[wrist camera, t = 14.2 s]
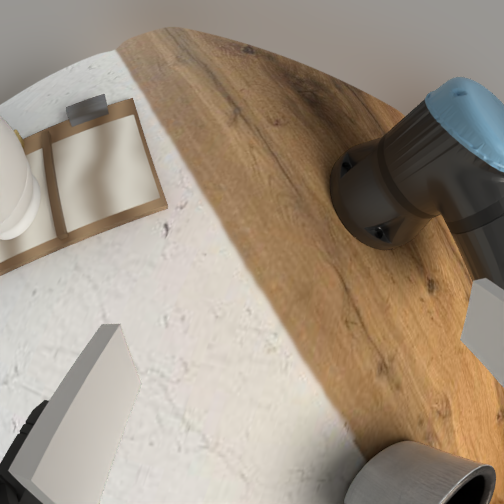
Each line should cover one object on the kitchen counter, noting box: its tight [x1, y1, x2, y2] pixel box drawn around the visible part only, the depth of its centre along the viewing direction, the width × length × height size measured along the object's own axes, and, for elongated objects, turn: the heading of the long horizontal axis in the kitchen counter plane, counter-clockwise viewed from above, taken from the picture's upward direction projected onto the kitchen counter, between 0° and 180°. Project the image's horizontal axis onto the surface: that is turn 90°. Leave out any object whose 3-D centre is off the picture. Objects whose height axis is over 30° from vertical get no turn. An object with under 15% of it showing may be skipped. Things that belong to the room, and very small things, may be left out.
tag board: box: [0, 94, 168, 276], centre depth 29 cm, size 24×16×4 cm, turn 113°
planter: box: [344, 441, 496, 504], centre depth 25 cm, size 16×16×16 cm
